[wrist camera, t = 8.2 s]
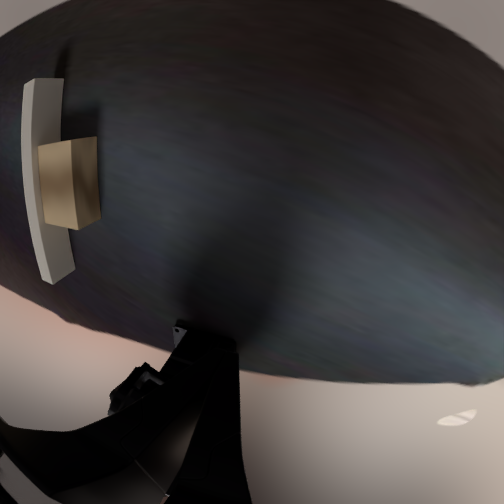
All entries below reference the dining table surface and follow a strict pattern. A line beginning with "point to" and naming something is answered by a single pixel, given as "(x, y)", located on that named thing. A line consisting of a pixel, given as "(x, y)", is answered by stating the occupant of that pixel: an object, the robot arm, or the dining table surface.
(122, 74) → the dining table surface
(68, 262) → the fence bar
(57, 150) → the maple block
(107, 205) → the dining table surface
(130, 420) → the robot arm
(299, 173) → the dining table surface
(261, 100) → the dining table surface
